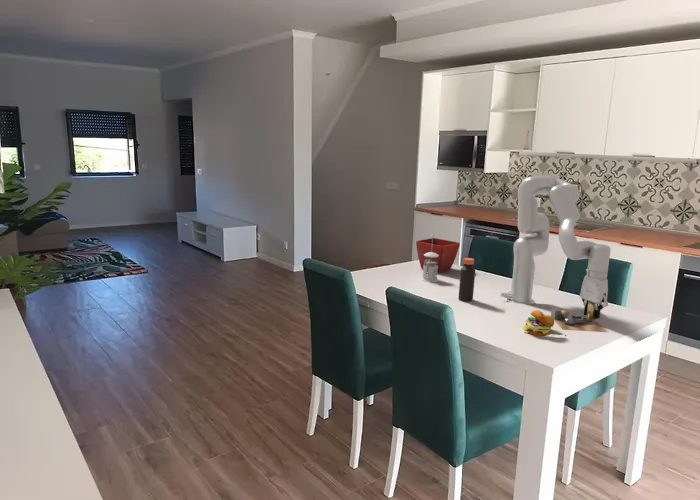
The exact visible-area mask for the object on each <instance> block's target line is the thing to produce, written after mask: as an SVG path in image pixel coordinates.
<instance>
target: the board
mask: <svg viewBox="0 0 700 500" xmlns="http://www.w3.org/2000/svg"><path fill="white" fill-rule="evenodd" d="M568 318H572V316H568ZM564 322H565V319H563V318H560V320H554V323H556V324H557V325H558V326H559V327H560V329H561V330H565V331H577V332H578V331H579V332H580V331H581V332H596V333H597V332H598V333H609V330H607V329H606V328H605V327H604V326H602V325H601V324H600V323H599V322H598V321H596V319H595V320H593V322H586V323H576V324H575V325H566V324H565V323H564Z"/></svg>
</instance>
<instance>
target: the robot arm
mask: <svg viewBox="0 0 700 500" xmlns="http://www.w3.org/2000/svg"><path fill="white" fill-rule="evenodd" d="M539 195H541V196H543V195H545V196H546V195H548V196H549V199H550V202H551V204H552V207H553V209H554V212H555V214H556V216H557V219H558V222H559V226H558V241H559V244H560V247H561V249H562V251H563V253H564V255H565V256H566V257H567V258H568V259H569V260H571V261H579V260H585V259H586V260H587V259H588V263H587V269H586V270H585V272H586V275H584V277H583V281H582V284H581V289H580V294H579V298H580V299H581V300H582V303H583V306H584V307H583V308H584V309H583V316H586V314H587V307H588V301H591V302H593V303H595V309H594V311H593V319H595V320H598V319H600V317H601V311H602V310H603V308H605V307H608V306H609V303H608V293H609V283H608V281H609V280H608V271H609V263H610V256H611V246H609V245H607V244H601V243H595V242H593V241H590V240H589V241H588V240H579V241H578V240H577V237H576V234H575V225H576V223H577V221H578V220H579V219H580V217H581V215H580V212H579V210H578V208H577V205H576V202H578V200H579V199H580V197H581V193H580V190H579V188H578V187H577V186H576V185H574V184H572V183H570V182H568V181H566V180H563V179H561V178H559V177H556V176H553V175H533V176H529V177H526V178H524V179H523V180H522V181H521V182H520V184H519V186H518V190H517V199H518V200H517V201H518V206H517V207H518V208H517V229H518V231H519V232H520V233H521V234H524V235H529V236H523V237H519V238H518V239H516V240H515V241H514V243H513V247H512V248H513V249H512V250H513V270H512V271H513V272H512V277H511V278H512V279H511V289H510V290H509V291H508V292H500V293H499V294H500V297H503V298H504V299H506V301H507V302H508V303H515V304H521V305H522V304H523V305H531V304H535V303H536V302H535V300H534V299H532V297H533V289H534V280H535V271H536V270H535V269H536V265H535V264H536V263H535V259H534V257H539V256H542V255H544V254H545V253H547V251H548V249H549V243H550V242H549V239H550V221H549V218H548V217H547V215H546V214H544V213H542V212H538V210H539V209H538V207H539V204H538V200H537V198H536V196H539ZM598 304H599V305H598Z"/></svg>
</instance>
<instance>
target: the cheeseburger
mask: <svg viewBox="0 0 700 500" xmlns="http://www.w3.org/2000/svg"><path fill="white" fill-rule="evenodd" d="M530 315H531V317H528V318H527V319H526V320H525V322H524V324H523V327H522V330H523V331H524V334H527V333H528V334H530V335H534V336H539V337H546V336H548V335H549V332H550V331H551V329H552V327H554V324H555V321H554V319H553V317H551V314H550V315H549V314H547V315H546V314H544V312H543V311H541V310H538V309H534V310H533V311H531V313H530Z"/></svg>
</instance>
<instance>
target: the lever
mask: <svg viewBox="0 0 700 500" xmlns="http://www.w3.org/2000/svg"><path fill="white" fill-rule="evenodd" d="M598 306H599V304H598ZM594 309H595V303H593V302H591V301H588V307H587V314H586V315H585V317H583V316H582V315H580V314H572V316H571V317H572V318H565V322H564V323H565V324H566V325H575V324H576V323H586V322H593V320H595V321H596V319H593V311H594Z"/></svg>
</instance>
